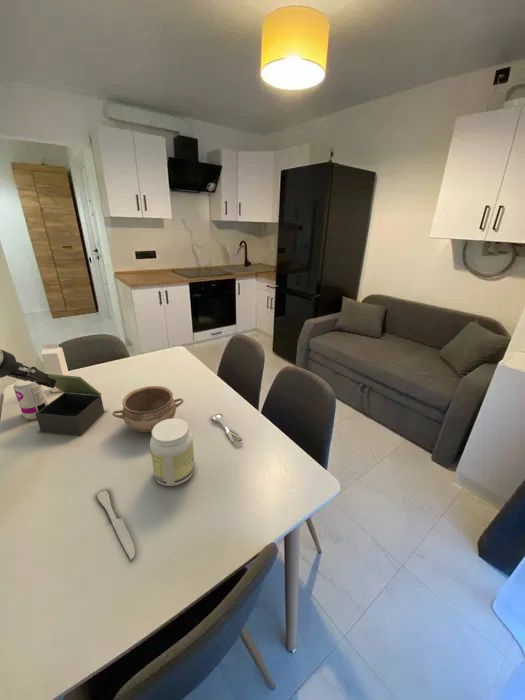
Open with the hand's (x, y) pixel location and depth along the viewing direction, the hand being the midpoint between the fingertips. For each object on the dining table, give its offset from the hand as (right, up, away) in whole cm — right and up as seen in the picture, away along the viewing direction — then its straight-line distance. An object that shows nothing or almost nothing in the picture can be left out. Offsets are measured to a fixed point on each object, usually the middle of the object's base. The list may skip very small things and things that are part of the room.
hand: (53, 384), depth 100 cm
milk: (-20, -6, +33) cm, 39 cm away
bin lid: (0, -2, +9) cm, 9 cm away
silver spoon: (+58, -19, +11) cm, 62 cm away
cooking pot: (+29, -17, +12) cm, 36 cm away
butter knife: (+34, -33, -24) cm, 53 cm away
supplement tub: (+44, -27, -8) cm, 53 cm away
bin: (-1, -16, +12) cm, 20 cm away
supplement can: (-17, -14, +15) cm, 27 cm away
